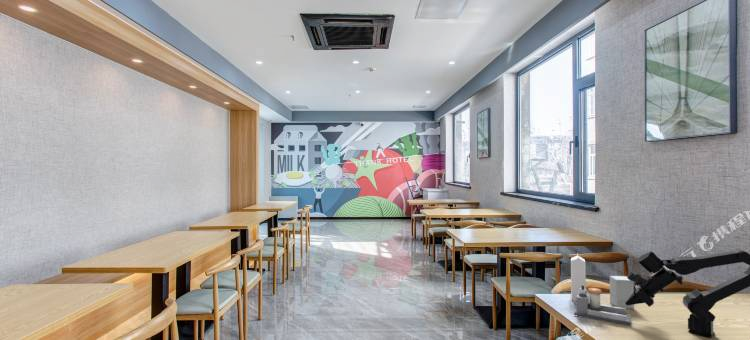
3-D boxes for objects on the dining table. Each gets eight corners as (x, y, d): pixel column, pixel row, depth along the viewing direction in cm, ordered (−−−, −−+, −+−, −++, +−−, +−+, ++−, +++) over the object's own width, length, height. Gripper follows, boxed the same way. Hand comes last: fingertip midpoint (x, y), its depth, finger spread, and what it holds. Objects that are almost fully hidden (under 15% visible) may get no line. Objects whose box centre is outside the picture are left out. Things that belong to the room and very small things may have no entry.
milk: (571, 300, 177) (570, 254, 177) (571, 296, 183) (570, 251, 183) (586, 302, 175) (585, 255, 175) (585, 298, 180) (584, 252, 180)
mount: (630, 317, 156) (630, 298, 156) (630, 326, 147) (630, 305, 147) (576, 308, 167) (576, 290, 167) (574, 315, 158) (574, 296, 158)
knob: (601, 310, 160) (601, 288, 160) (601, 314, 155) (601, 292, 155) (589, 307, 162) (588, 286, 162) (588, 312, 157) (587, 290, 157)
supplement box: (634, 308, 166) (634, 280, 166) (616, 307, 167) (616, 279, 167) (626, 303, 173) (626, 276, 173) (609, 302, 174) (609, 275, 174)
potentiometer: (587, 294, 161) (587, 285, 161) (586, 296, 159) (586, 287, 159) (579, 293, 163) (579, 284, 163) (578, 295, 161) (578, 285, 161)
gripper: (640, 260, 157) (609, 282, 163) (642, 270, 142) (608, 294, 148) (663, 281, 153) (631, 303, 159) (668, 294, 137) (633, 318, 143)
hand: (626, 304), depth 152 cm, fingers closed
